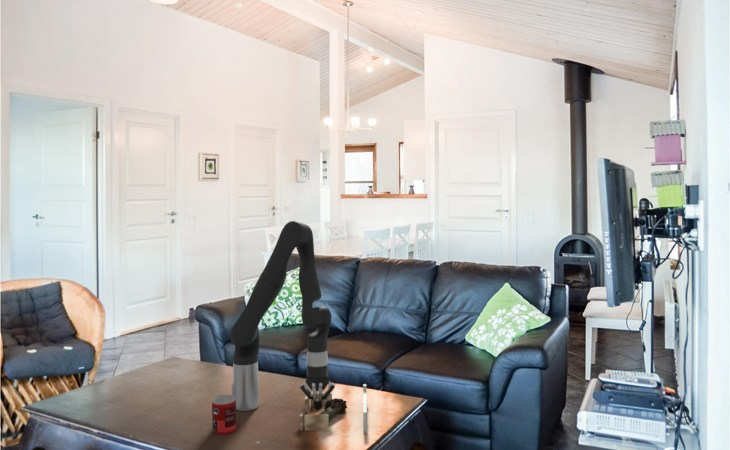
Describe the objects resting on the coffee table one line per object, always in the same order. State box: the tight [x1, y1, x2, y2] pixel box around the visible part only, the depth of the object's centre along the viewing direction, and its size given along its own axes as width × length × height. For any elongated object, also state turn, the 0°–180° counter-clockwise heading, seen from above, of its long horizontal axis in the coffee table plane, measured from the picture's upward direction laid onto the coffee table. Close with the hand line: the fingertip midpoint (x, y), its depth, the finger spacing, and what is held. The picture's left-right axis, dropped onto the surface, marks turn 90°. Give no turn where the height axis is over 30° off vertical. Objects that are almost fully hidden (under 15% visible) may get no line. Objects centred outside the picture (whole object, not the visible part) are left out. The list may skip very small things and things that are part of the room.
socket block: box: [299, 391, 333, 431], centre depth 197 cm, size 10×22×5 cm, turn 0°
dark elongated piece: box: [318, 398, 348, 423], centre depth 196 cm, size 18×7×6 cm, turn 152°
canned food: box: [211, 394, 237, 436], centre depth 187 cm, size 8×8×11 cm
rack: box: [362, 383, 368, 434], centre depth 197 cm, size 1×28×7 cm, turn 0°
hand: (318, 410), depth 197 cm, fingers closed
